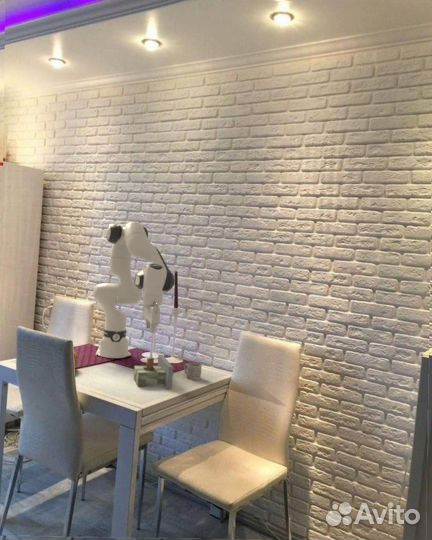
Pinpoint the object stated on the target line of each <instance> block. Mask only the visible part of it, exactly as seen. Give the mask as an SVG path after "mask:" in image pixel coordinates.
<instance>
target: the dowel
mask: <svg viewBox="0 0 432 540" xmlns="http://www.w3.org/2000/svg"><path fill="white" fill-rule="evenodd" d="M154 359H155V358H154V357H146V365H145V366H146V371H153V366H154V361H155V360H154Z"/></svg>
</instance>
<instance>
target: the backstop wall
mask: <svg viewBox="0 0 432 540" xmlns="http://www.w3.org/2000/svg"><path fill="white" fill-rule="evenodd" d="M157 366H161V368H162V369H163V370H164V371H165V373H166V375H165V386H164V387H165V389H166V390H168V391H169V390H172V389H173V376H174V366H173V365H172V364H171V362H170V361H169V360H168V359H167V358H166V357H165V356H164V354H158V357H157Z"/></svg>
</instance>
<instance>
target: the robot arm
mask: <svg viewBox="0 0 432 540" xmlns="http://www.w3.org/2000/svg"><path fill="white" fill-rule="evenodd" d="M105 238H106V240H107V242H108V243H111V249H110V254H109V255H110V256H109V257H110V258H109V269H108V270H109V273H110V274H111V276H113V277H115V278H117V279H118V280H119V283H112V282H111V283H109V282H103V283H98V284H96V286H94V288H93V291H92V295H93V298H94V300H95V301H96V302H97V304H99V305H100V306H101V308H102V310H103V312H104V318H105V322H104V329H103V337H102V338H101V339H100V340H99V341H98V346H99V347H98V348H97V350H96V352H95V356H97V355H98V356H99V357H103V358H107V359H123V358H127V357H130V356H132V354H131V352H129V340H128V338H127V333H128V332H127V315H126V314H125V313H124V312H123V311H122V310H120V309H118V308H117V306H116V305H125V306H126V305H127V306H128V305H129V306H130V305H136V304H137V305H138V304H139V303H140V302H141V301H142V302H141V303H142V315H143V318H145V328H146V329H149V332H150V334H155V331H156V330H155V329H156V327H157V325H159V324H160V320H161V309H160V306H162V305H163V298H164V297H163V296H164V292H166V293H167V292H169V291H170V290H172V289H173V287H174V286H175V282H176V281H175V276H174V274H173V273H172V271H171V270H170V269H169V267H168V266H167V263H166V260H165V259H164V258H163V255H162V253H161V252H160V250H159V249H158V248H157V247H156V246H155V245H153V244H152V243H151V241H150V240H149V232H148V229H147V228H146V227H144V226H143V225H142V224H141V223H140V222H138V221H130V222H128V223H110V224H109V225H108V226H107V229H106V231H105ZM132 256H133V257H134V258H135V257H136V258H137V259H142V260H145V261H147V262H148V261H149V264H147V265H145V266H146V267H145V268H143V269H140V270H138V271H137V272H136V273H135V276H134V279H133V277H132V272H131V270H132V269H131V268H132V267H131V266H132V265H131V262H132ZM142 291H143V292H142ZM98 356H97V357H98Z"/></svg>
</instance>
